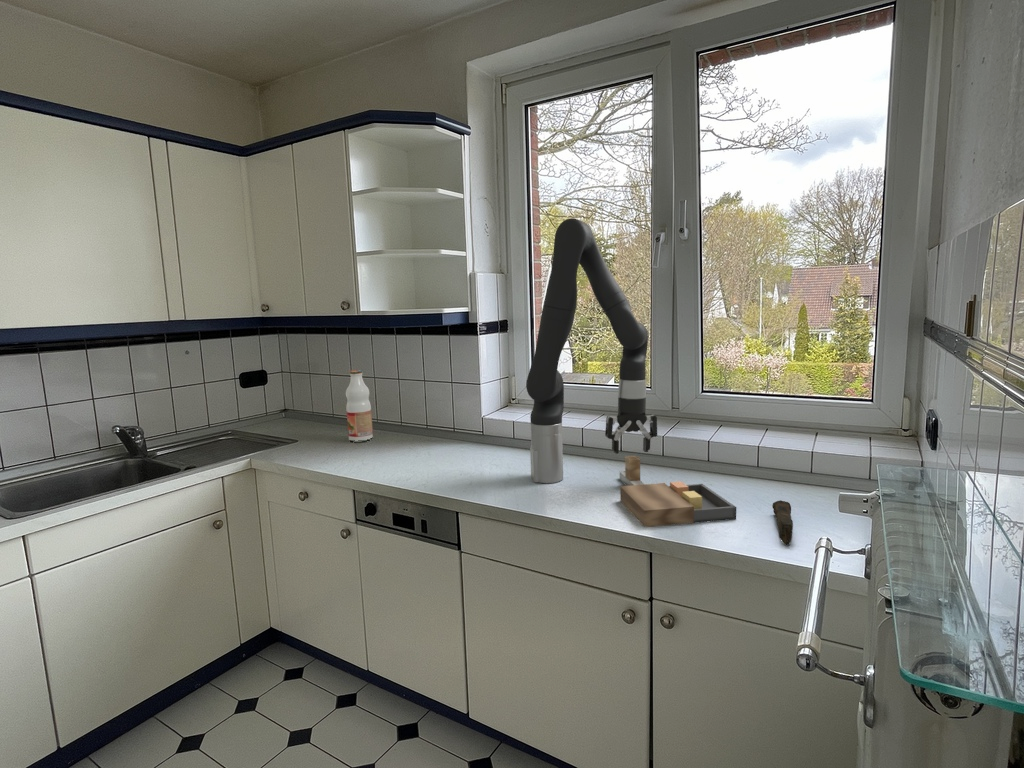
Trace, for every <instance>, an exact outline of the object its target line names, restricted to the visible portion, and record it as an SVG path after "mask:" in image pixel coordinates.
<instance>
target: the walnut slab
mask: <svg viewBox="0 0 1024 768" xmlns="http://www.w3.org/2000/svg"><path fill="white" fill-rule="evenodd" d="M669 486H670V485H668V484H666V483H665V482H659V483H657V482H656V483H648V484H647V483H646V484H645V483H644V485H631V486H626V485H620V486H619V488H620V489H619V491H620V492H619V493H620V494H619V495H620V498H619V499H620V503H622V504H623V506H624V507H625V508H626V509H627V510H628V511H629V512H630V514H631V515H632V516H634V518H635V519H636V520H637V521H638V522H639V523H640V524H641V525H642V526H643V527H644V528H650V527H660V526H672V525H671V524H675V525H684V523H687V524H695V523H694V506H693V505H691V504H690V503H689V502H688V501H686V500H685V499H684V498H683V497H681V496H680V495H679V494H678V493H676V492H675V491H674V490H673V489H671V488H670V487H669Z"/></svg>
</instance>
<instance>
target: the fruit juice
mask: <svg viewBox="0 0 1024 768" xmlns="http://www.w3.org/2000/svg"><path fill="white" fill-rule="evenodd" d="M363 374H364V373H363V370H362V369H354V370H353V369H351V370H349V376H350V381H349V384H348V386H347V388H346V389H345V396H346V399H347V402H346V406H345V407H346V408H345V409H346V419H347V421H346V422H347V431H348V432H347V433H348V441H349V440H355V441H358V440H367V439H370V438H372V437H373V438H374V433H373V431H374V429H373V419H372V418H373V417H372V406H371V401H370V399H369V398H370V389H369V387H368V386H367V385H366V384H365V381H364V379H363Z"/></svg>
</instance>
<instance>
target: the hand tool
mask: <svg viewBox="0 0 1024 768" xmlns="http://www.w3.org/2000/svg"><path fill="white" fill-rule="evenodd" d="M772 509H773V514H774V516H775V520H776V524H777V528H778V536H779V539H780V541H781V540H782V541H781V542H782V543H783V545H785V546H786V547H787V546H789V545H791V543H792V539H793V530H794V529H793V528H794V521H793V519H792V515H791V514H792V506H791V504H790V502H789V501H784V500H781V499H780V500H777V501H774V502H772Z"/></svg>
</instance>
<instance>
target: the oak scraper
mask: <svg viewBox="0 0 1024 768" xmlns="http://www.w3.org/2000/svg"><path fill="white" fill-rule="evenodd" d="M624 458H625V459H624V461H625V462H624V463H625V464H624V466H625V467H624V469H625V470H620V471H619V480H620V479H621V480H622V481H623V482H624V483H625V484H626V485H627V486H631V485H644V484H645V483H644V482H643V481H641V459H640V458H639V457H638V456H637V455H627V456H625V457H624ZM621 480H620V481H621ZM622 481H621V482H622ZM623 482H622V483H623ZM624 483H623V484H624ZM625 484H624V485H625ZM626 485H625V486H626Z"/></svg>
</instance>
